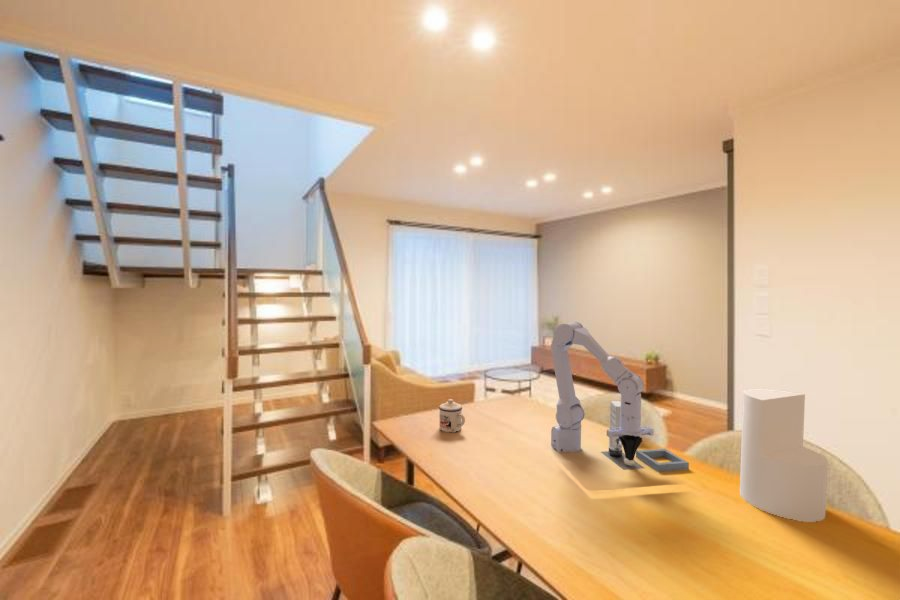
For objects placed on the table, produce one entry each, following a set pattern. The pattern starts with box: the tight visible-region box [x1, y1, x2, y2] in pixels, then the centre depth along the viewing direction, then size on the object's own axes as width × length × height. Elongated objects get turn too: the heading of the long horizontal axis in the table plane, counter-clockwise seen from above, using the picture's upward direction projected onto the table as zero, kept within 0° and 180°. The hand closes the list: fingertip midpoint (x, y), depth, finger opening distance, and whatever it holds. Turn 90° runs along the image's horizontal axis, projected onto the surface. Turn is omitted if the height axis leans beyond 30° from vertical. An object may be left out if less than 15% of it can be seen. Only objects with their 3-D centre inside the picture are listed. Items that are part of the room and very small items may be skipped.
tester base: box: [600, 450, 645, 471], centre depth 127 cm, size 13×7×2 cm, turn 9°
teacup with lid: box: [438, 398, 466, 433], centre depth 156 cm, size 12×9×12 cm
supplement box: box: [609, 400, 621, 429], centre depth 150 cm, size 7×7×13 cm
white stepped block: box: [739, 388, 829, 523], centre depth 104 cm, size 17×17×28 cm
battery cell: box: [608, 437, 623, 458], centre depth 130 cm, size 4×4×8 cm
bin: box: [635, 448, 690, 472], centre depth 125 cm, size 10×10×4 cm
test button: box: [624, 457, 636, 466], centre depth 123 cm, size 3×3×2 cm
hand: (629, 458), depth 123 cm, fingers closed, pressing on test button
